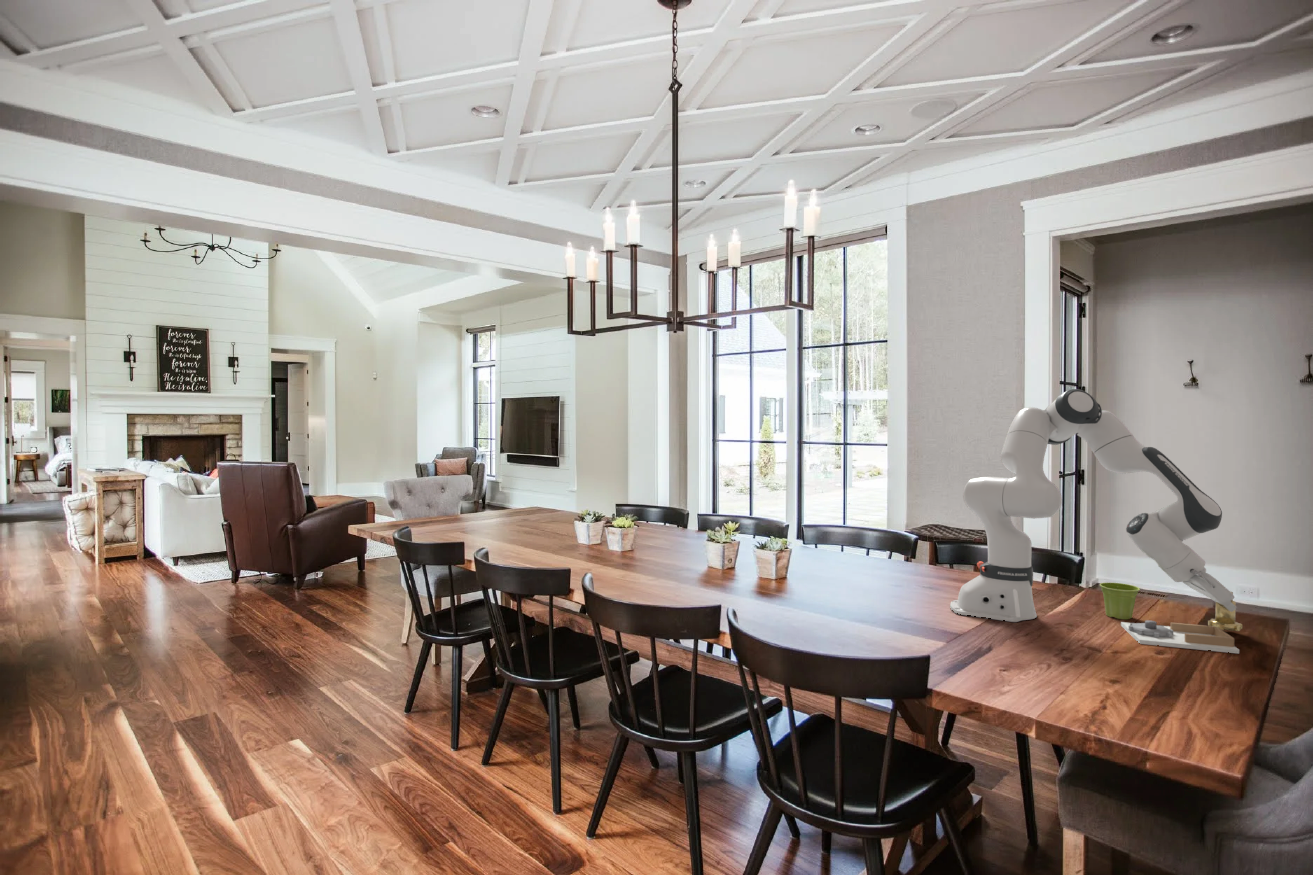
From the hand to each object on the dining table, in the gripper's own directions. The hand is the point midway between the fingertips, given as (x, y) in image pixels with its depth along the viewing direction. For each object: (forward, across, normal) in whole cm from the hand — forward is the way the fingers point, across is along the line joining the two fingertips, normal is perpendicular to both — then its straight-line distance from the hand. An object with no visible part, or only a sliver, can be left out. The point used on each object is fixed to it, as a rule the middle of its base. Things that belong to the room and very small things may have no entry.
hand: (1228, 606), depth 178 cm
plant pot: (-11, +8, +21) cm, 25 cm away
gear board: (-5, -10, +15) cm, 19 cm away
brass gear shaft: (+3, 0, +4) cm, 5 cm away
